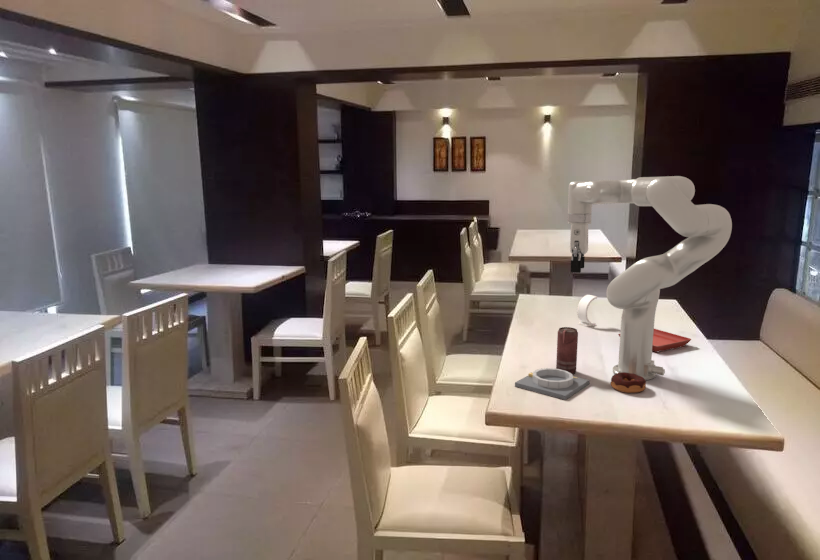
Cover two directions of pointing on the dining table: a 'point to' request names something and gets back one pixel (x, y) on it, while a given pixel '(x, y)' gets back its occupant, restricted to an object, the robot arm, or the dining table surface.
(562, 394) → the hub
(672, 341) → the plant saucer
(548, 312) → the dining table surface
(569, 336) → the can
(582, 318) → the white curved piece
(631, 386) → the donut
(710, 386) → the dining table surface
